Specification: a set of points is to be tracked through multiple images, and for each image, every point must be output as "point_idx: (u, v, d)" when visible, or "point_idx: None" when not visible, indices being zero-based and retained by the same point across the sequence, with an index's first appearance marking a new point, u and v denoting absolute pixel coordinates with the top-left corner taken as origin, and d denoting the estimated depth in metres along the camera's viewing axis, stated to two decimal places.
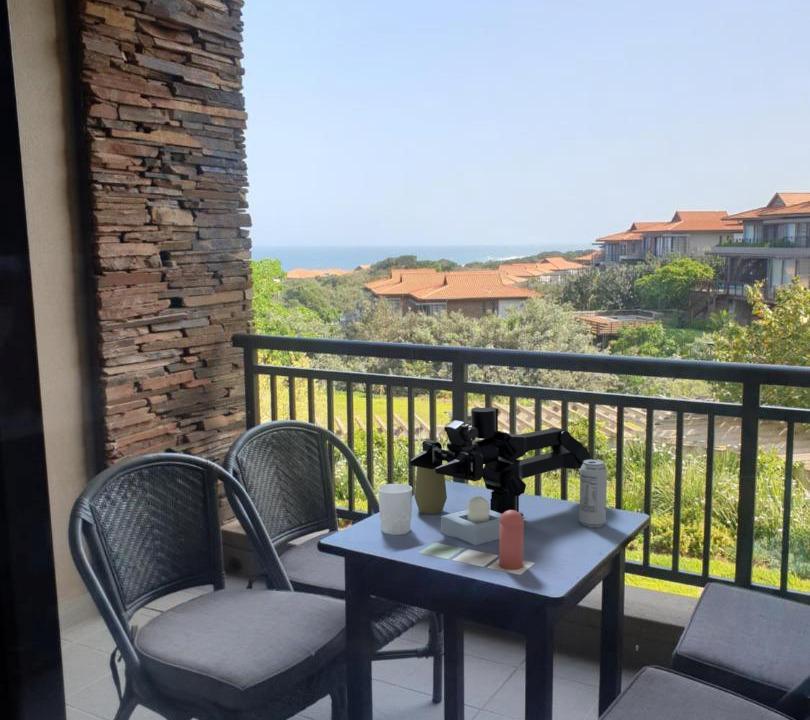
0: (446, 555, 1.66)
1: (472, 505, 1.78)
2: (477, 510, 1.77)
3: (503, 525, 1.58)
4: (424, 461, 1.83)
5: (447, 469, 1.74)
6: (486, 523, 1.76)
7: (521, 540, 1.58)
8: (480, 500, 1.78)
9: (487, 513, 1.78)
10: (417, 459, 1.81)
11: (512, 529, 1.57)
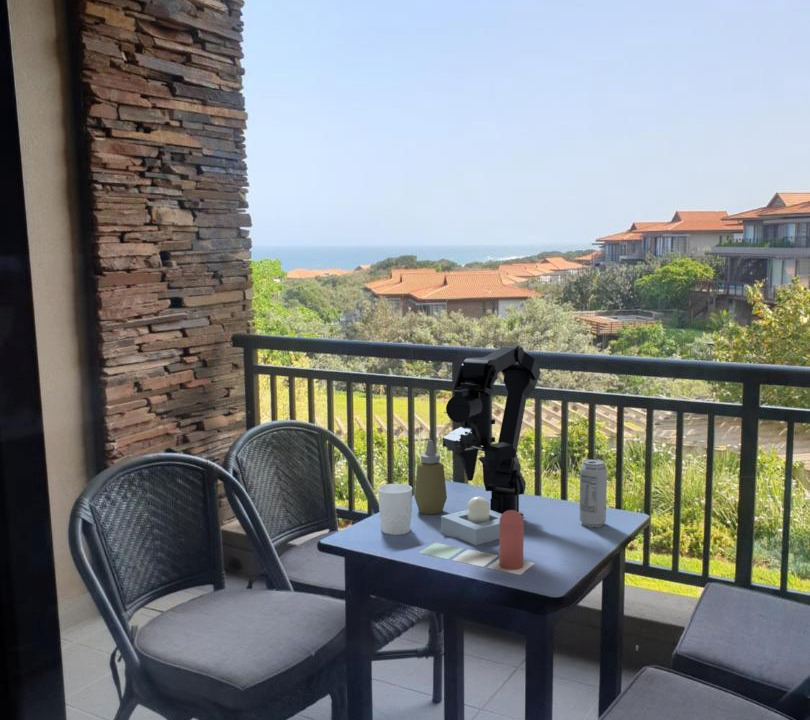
0: (446, 555, 1.66)
1: (472, 505, 1.78)
2: (477, 510, 1.77)
3: (503, 525, 1.58)
4: (471, 461, 1.81)
5: (489, 475, 1.76)
6: (486, 523, 1.76)
7: (521, 540, 1.58)
8: (480, 500, 1.78)
9: (487, 513, 1.78)
10: (469, 472, 1.81)
11: (512, 529, 1.57)
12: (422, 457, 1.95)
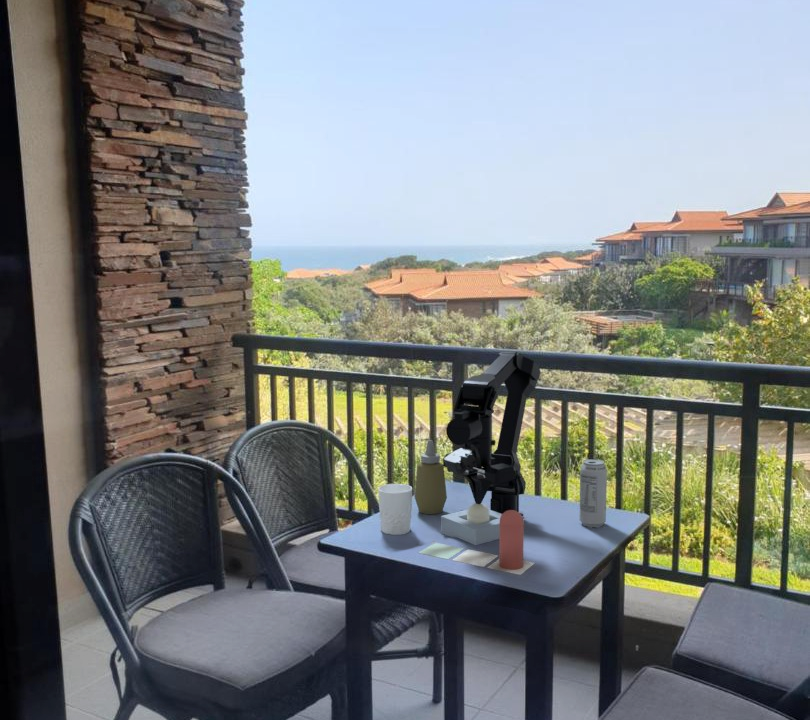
0: (446, 555, 1.66)
1: (472, 511, 1.78)
2: (477, 517, 1.78)
3: (503, 525, 1.58)
4: None
5: (481, 493, 1.79)
6: (486, 523, 1.76)
7: (521, 540, 1.58)
8: (480, 507, 1.78)
9: (487, 520, 1.79)
10: None
11: (512, 529, 1.57)
12: (422, 457, 1.95)
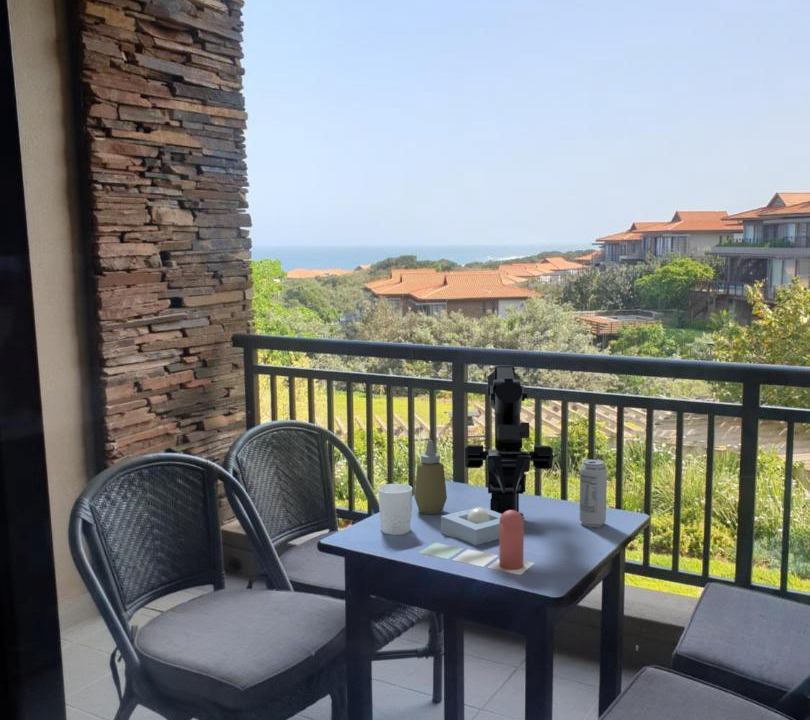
0: (446, 555, 1.66)
1: (472, 516, 1.78)
2: (477, 522, 1.78)
3: (503, 525, 1.58)
4: None
5: (518, 481, 1.68)
6: (486, 523, 1.76)
7: (521, 540, 1.58)
8: (480, 512, 1.79)
9: None
10: (504, 482, 1.68)
11: (512, 529, 1.57)
12: (422, 457, 1.95)
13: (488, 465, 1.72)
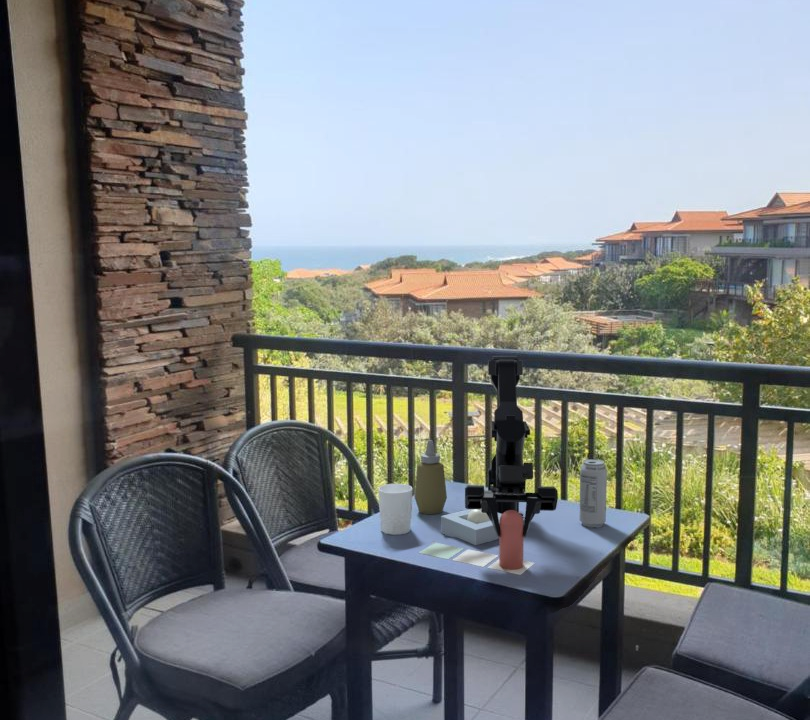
0: (446, 555, 1.66)
1: (472, 516, 1.78)
2: (477, 522, 1.78)
3: (503, 525, 1.58)
4: None
5: (529, 524, 1.60)
6: (486, 523, 1.76)
7: (521, 540, 1.58)
8: (480, 512, 1.79)
9: None
10: None
11: (512, 529, 1.57)
12: (422, 457, 1.95)
13: (482, 507, 1.63)
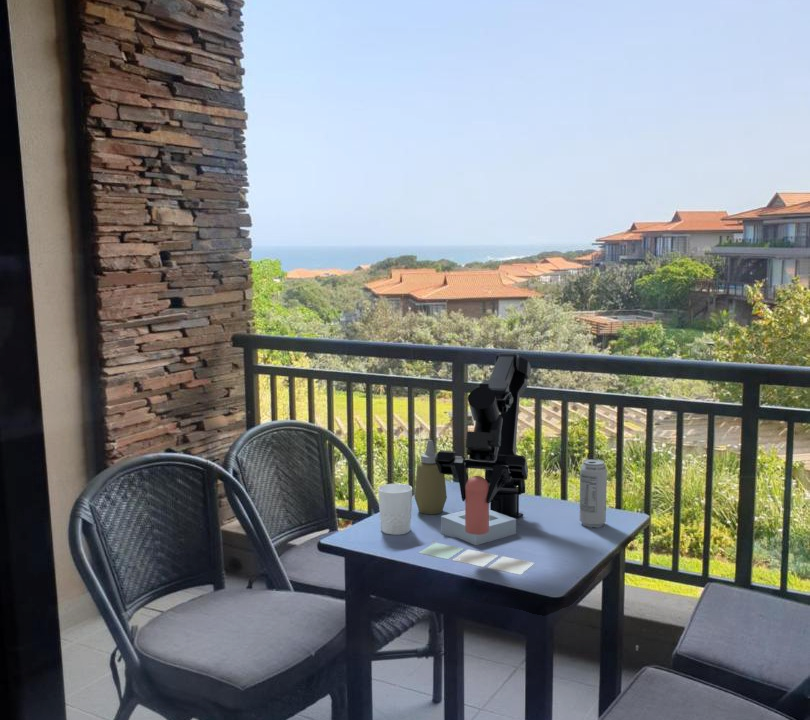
0: (446, 555, 1.66)
1: None
2: None
3: (467, 490, 1.61)
4: (465, 483, 1.64)
5: (494, 491, 1.61)
6: None
7: (484, 506, 1.60)
8: None
9: None
10: (464, 490, 1.62)
11: (475, 494, 1.60)
12: (422, 457, 1.95)
13: (453, 472, 1.66)
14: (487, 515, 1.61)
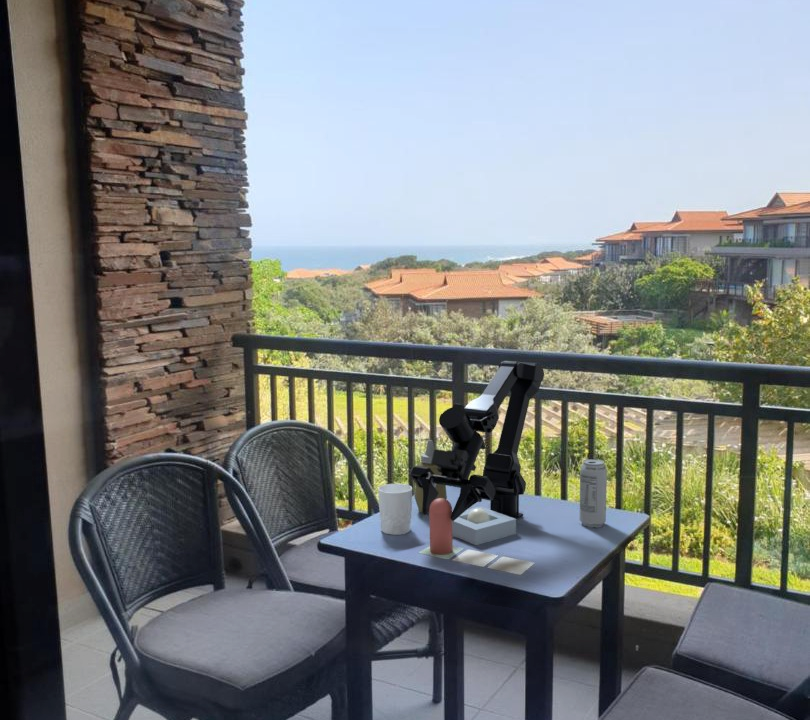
0: (446, 555, 1.66)
1: (472, 516, 1.78)
2: (477, 522, 1.78)
3: (429, 511, 1.67)
4: (431, 498, 1.71)
5: (460, 510, 1.66)
6: (486, 523, 1.76)
7: (445, 528, 1.66)
8: (480, 512, 1.79)
9: None
10: (427, 505, 1.70)
11: (435, 515, 1.66)
12: (422, 457, 1.95)
13: (422, 486, 1.74)
14: (448, 537, 1.67)
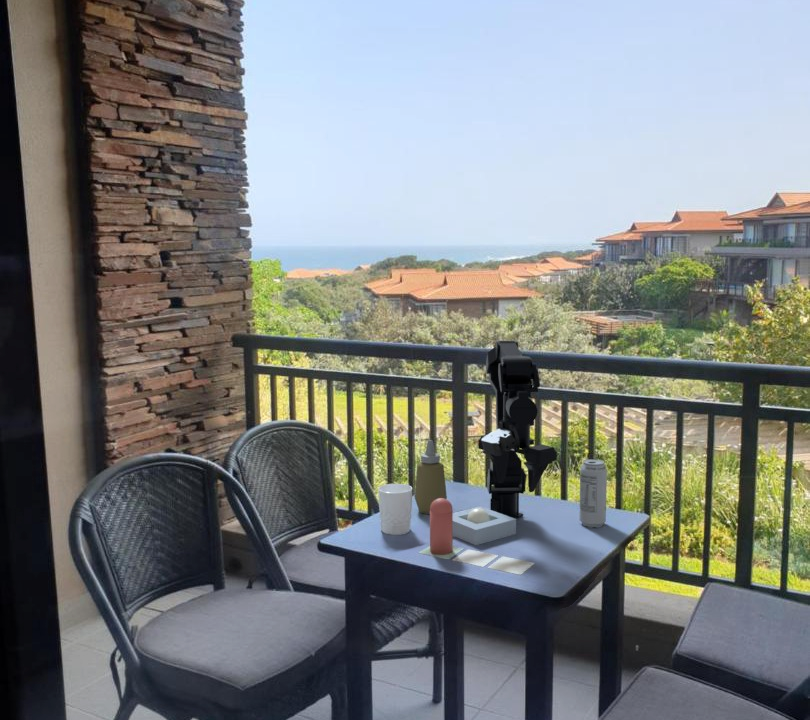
0: (446, 555, 1.66)
1: (472, 516, 1.78)
2: (477, 522, 1.78)
3: (430, 511, 1.68)
4: (502, 463, 1.76)
5: (534, 481, 1.67)
6: (486, 523, 1.76)
7: (445, 528, 1.66)
8: (480, 512, 1.79)
9: None
10: (500, 474, 1.75)
11: (436, 515, 1.66)
12: (422, 457, 1.95)
13: None
14: (449, 537, 1.67)
